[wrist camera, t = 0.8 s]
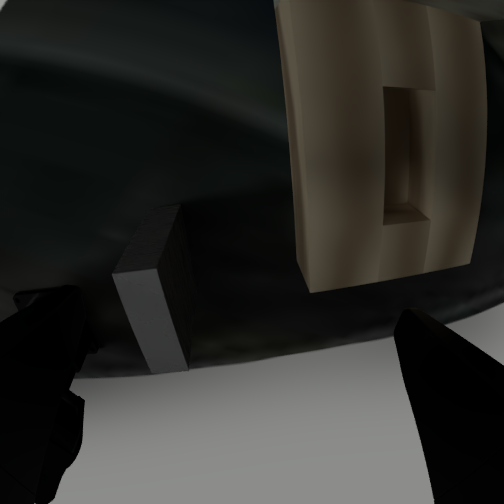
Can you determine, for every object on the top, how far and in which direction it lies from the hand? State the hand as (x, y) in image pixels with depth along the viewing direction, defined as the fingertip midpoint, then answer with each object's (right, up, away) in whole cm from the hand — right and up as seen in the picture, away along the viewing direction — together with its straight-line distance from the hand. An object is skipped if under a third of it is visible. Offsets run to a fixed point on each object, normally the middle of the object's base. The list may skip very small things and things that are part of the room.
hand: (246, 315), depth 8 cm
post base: (+8, +10, +10) cm, 16 cm away
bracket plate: (-5, +2, +13) cm, 14 cm away
